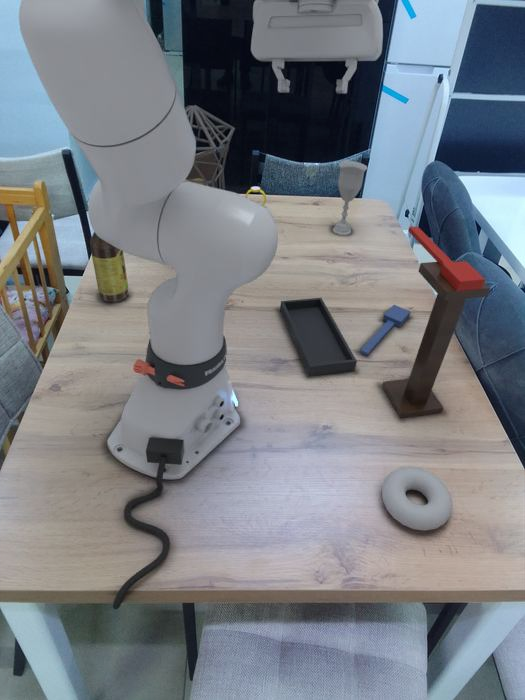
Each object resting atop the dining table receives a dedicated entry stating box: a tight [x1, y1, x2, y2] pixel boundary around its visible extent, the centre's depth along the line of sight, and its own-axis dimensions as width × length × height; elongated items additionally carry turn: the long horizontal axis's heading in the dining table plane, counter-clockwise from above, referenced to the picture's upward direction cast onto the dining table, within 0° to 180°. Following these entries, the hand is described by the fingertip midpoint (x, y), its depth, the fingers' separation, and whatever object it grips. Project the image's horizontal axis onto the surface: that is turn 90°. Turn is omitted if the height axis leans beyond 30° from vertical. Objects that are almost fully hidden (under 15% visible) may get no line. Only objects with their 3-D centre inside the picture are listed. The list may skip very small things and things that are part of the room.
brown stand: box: [381, 259, 491, 419], centre depth 83 cm, size 8×8×26 cm
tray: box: [279, 297, 358, 377], centre depth 102 cm, size 21×9×2 cm, turn 13°
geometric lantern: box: [184, 104, 236, 190], centre depth 113 cm, size 16×16×35 cm
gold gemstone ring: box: [244, 185, 267, 207], centre depth 147 cm, size 6×3×6 cm, turn 85°
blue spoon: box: [359, 304, 411, 357], centre depth 105 cm, size 18×4×2 cm, turn 144°
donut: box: [381, 466, 453, 531], centre depth 73 cm, size 10×4×10 cm
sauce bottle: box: [89, 231, 129, 303], centre depth 104 cm, size 6×6×20 cm
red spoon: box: [407, 226, 486, 291], centre depth 77 cm, size 18×4×2 cm, turn 13°
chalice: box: [332, 160, 368, 236], centre depth 135 cm, size 7×7×18 cm
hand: (311, 92), depth 80 cm, fingers open, 8 cm apart
